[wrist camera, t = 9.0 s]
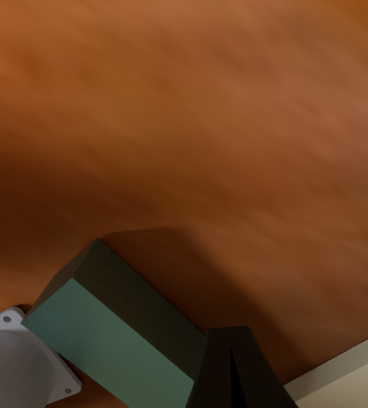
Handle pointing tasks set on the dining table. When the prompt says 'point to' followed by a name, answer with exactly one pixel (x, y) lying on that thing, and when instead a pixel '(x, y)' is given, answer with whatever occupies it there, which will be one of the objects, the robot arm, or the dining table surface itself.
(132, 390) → the dark green rectangular beam
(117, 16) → the dining table surface
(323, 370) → the stool seat
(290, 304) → the dining table surface
